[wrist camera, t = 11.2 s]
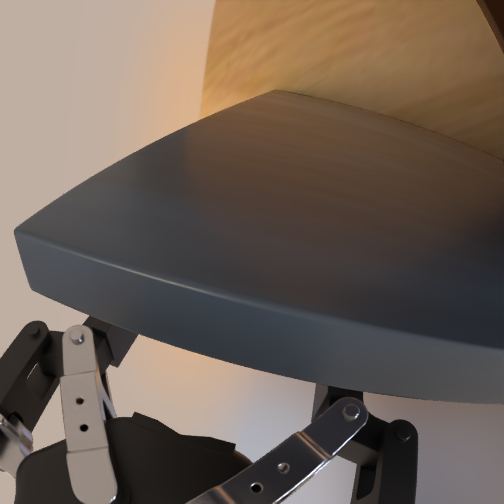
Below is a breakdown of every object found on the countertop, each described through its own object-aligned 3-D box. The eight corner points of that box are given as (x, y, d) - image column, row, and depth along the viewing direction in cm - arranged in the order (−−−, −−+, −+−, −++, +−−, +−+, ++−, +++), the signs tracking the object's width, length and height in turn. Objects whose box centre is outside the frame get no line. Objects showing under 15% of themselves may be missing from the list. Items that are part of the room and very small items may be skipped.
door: (513, 241, 25) (616, 452, 5) (261, 169, 28) (101, 437, 8) (539, 180, 21) (692, 367, 1) (274, 89, 24) (10, 228, 4)
